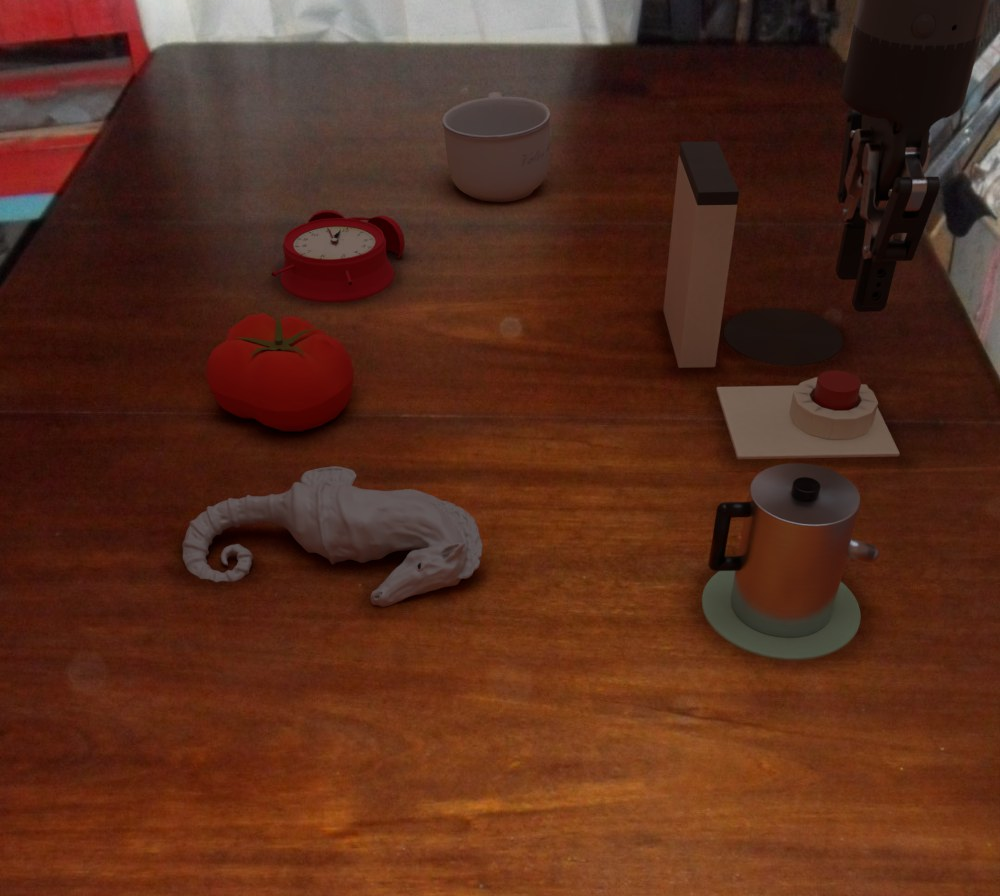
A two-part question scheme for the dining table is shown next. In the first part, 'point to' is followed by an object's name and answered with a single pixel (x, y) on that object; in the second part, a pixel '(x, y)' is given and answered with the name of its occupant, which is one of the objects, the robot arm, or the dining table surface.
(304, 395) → the tomato
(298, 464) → the dining table surface
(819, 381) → the power button
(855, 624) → the disc
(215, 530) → the seahorse
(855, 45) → the robot arm
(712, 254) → the tower
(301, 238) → the alarm clock
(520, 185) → the teacup
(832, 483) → the kettle
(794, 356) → the coffee maker plate
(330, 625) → the dining table surface
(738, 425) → the cream button base
